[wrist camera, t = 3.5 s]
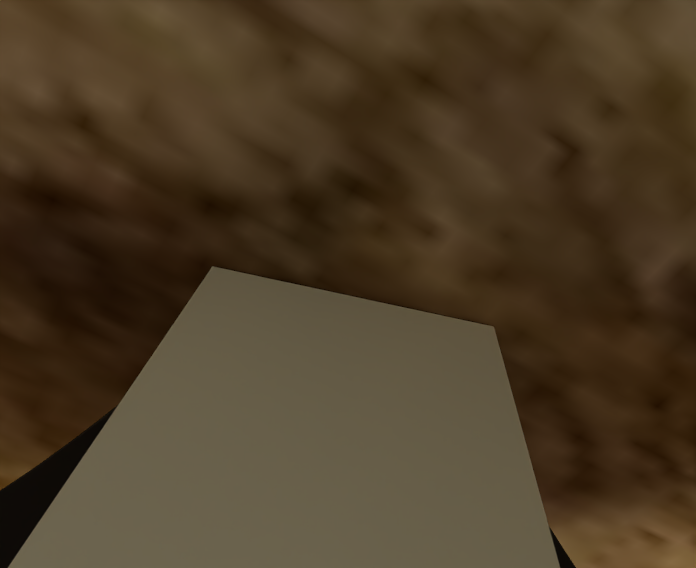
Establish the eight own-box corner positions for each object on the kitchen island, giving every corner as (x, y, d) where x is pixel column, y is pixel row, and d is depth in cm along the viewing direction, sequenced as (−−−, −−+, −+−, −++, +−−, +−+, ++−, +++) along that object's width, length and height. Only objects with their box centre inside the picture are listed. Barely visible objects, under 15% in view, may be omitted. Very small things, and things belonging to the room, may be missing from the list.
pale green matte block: (189, 476, 13) (16, 877, 7) (212, 266, 11) (-16, 601, 5) (422, 525, 13) (439, 959, 7) (494, 326, 11) (603, 728, 5)
